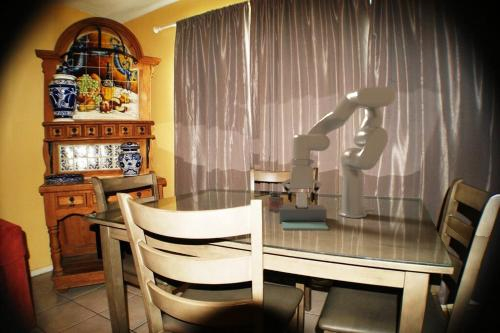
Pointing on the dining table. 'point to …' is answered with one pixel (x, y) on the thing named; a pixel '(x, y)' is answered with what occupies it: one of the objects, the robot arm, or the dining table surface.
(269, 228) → the dining table surface
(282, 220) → the rail
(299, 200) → the peg
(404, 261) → the dining table surface
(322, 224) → the mat
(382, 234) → the dining table surface
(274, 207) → the lighter
